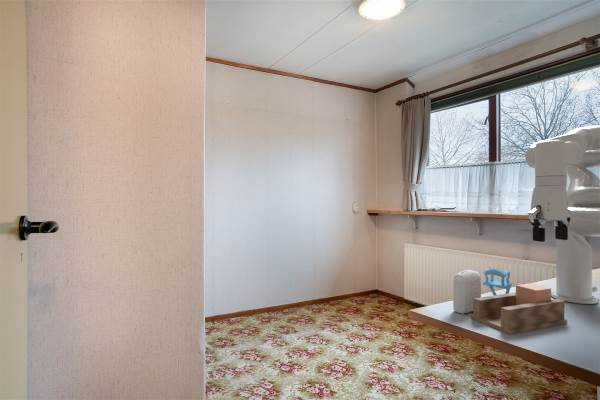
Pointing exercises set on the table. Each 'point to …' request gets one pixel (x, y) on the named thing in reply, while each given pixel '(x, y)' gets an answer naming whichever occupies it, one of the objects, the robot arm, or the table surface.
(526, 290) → the block
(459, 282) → the photo printer
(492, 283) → the chair
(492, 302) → the chute
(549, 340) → the table surface
